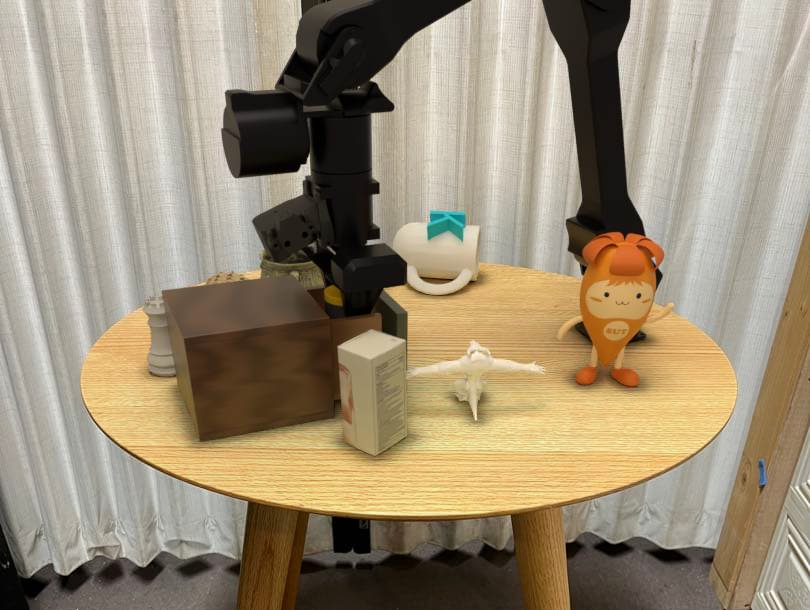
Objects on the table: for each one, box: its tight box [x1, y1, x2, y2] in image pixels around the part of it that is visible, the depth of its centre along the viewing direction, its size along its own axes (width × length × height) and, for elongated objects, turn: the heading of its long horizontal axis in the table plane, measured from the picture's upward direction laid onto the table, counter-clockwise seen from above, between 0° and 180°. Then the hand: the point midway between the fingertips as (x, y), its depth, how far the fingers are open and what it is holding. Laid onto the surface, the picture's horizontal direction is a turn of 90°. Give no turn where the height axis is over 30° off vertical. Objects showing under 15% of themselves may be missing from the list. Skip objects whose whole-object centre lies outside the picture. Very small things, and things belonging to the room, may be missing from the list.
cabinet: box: [161, 274, 335, 442], centre depth 83 cm, size 14×13×11 cm
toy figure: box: [555, 232, 675, 387], centre depth 88 cm, size 12×8×15 cm
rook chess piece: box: [142, 294, 176, 377], centre depth 90 cm, size 4×4×8 cm
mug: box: [391, 210, 482, 296], centre depth 113 cm, size 12×9×12 cm
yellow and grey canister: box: [324, 285, 345, 320], centre depth 85 cm, size 4×4×5 cm
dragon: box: [406, 339, 548, 421], centre depth 83 cm, size 15×7×8 cm, turn 96°
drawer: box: [305, 285, 409, 401], centre depth 86 cm, size 14×11×9 cm
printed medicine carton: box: [338, 330, 408, 457], centre depth 77 cm, size 5×4×10 cm
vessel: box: [258, 248, 324, 288], centre depth 107 cm, size 12×9×6 cm
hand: (347, 328), depth 86 cm, fingers closed on yellow and grey canister, 4 cm apart
